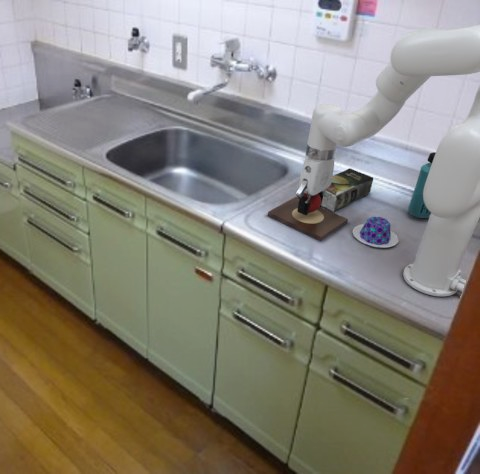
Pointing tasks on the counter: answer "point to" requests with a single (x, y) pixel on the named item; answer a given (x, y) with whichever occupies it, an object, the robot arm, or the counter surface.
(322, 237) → the cutting board
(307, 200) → the robot arm
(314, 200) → the red round fruit
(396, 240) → the pudding
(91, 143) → the counter surface
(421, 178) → the beverage bottle
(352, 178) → the juice carton
